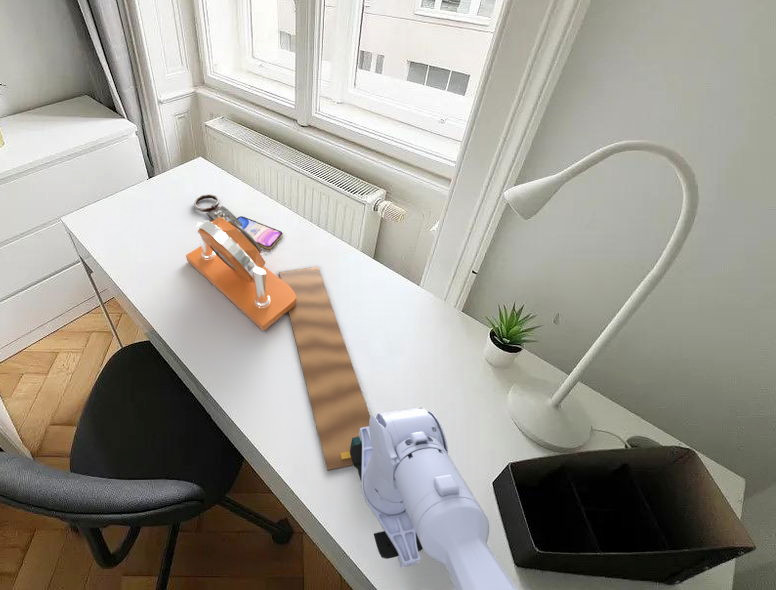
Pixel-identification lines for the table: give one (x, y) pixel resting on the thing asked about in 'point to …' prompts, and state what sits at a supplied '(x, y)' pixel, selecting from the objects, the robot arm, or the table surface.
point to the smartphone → (261, 232)
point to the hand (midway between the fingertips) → (377, 509)
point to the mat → (326, 367)
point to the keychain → (216, 210)
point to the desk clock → (240, 271)
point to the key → (347, 454)
